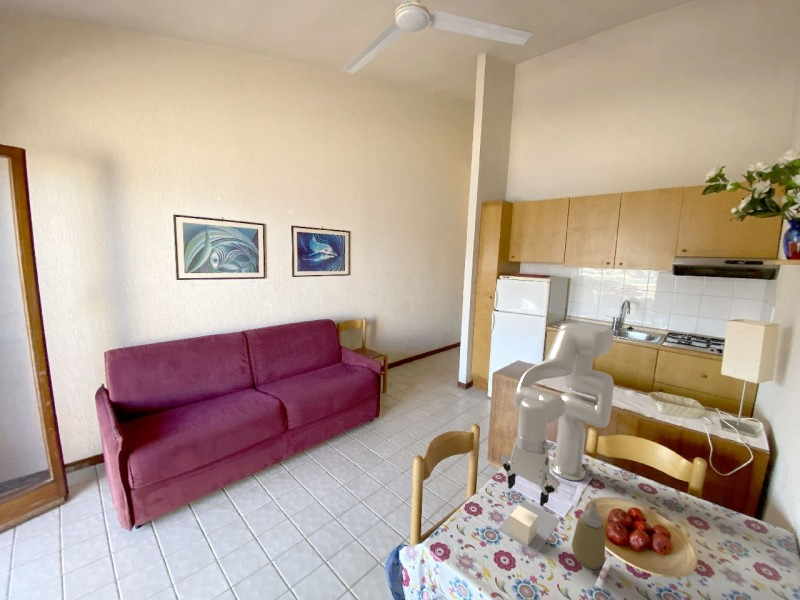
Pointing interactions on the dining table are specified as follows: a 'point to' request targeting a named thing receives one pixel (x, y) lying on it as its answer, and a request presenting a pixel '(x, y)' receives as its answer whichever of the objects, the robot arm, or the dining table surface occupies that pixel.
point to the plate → (543, 527)
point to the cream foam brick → (523, 524)
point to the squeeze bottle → (589, 539)
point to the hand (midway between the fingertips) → (526, 494)
